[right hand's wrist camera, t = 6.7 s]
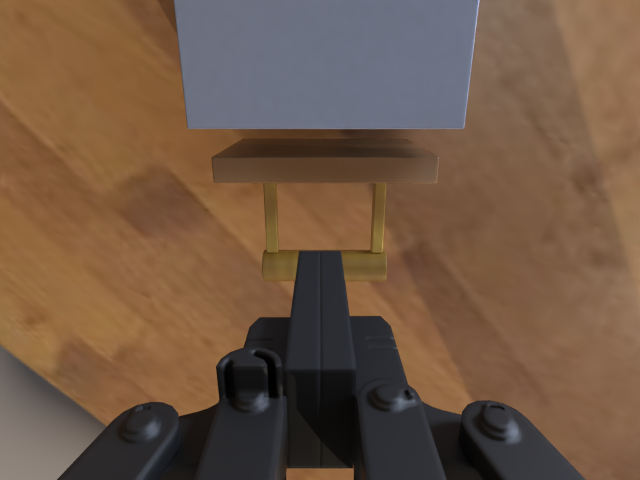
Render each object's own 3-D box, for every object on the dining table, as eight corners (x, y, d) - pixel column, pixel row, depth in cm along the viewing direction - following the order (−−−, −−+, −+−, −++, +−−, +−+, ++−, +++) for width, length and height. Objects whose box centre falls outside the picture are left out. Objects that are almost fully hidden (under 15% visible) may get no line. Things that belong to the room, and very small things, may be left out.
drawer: (399, 244, 28) (425, 297, 21) (249, 244, 28) (223, 296, 21) (438, -290, 19) (507, -521, 12) (215, -288, 19) (149, -517, 12)
